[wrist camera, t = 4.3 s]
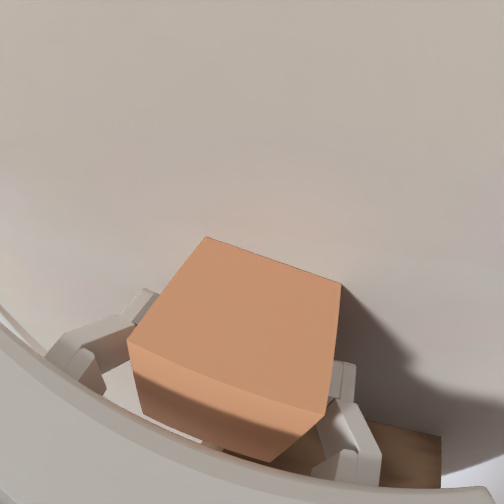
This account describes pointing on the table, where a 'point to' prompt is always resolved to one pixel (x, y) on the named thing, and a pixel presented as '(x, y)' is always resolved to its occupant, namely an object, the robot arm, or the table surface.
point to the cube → (238, 351)
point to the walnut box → (392, 464)
